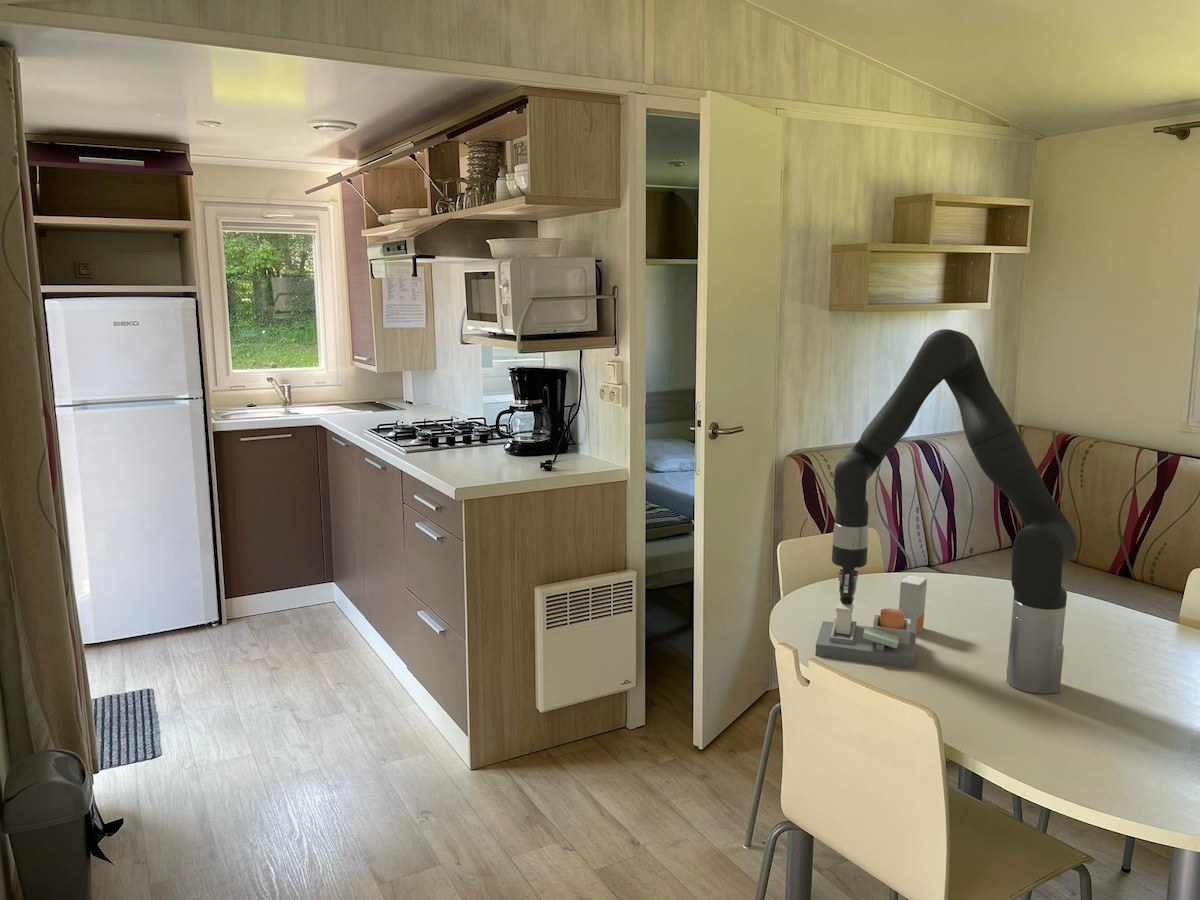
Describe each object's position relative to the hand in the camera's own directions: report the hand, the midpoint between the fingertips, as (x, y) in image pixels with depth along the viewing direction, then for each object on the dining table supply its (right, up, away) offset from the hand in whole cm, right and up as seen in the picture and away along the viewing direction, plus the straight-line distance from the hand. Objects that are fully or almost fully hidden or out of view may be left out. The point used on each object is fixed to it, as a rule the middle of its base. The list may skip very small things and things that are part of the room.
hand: (846, 617), depth 200 cm
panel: (+2, -6, -6) cm, 9 cm away
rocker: (+4, -2, -12) cm, 13 cm away
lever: (-2, -2, -4) cm, 5 cm away
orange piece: (+8, -3, -6) cm, 10 cm away
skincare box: (+16, -4, +5) cm, 17 cm away
